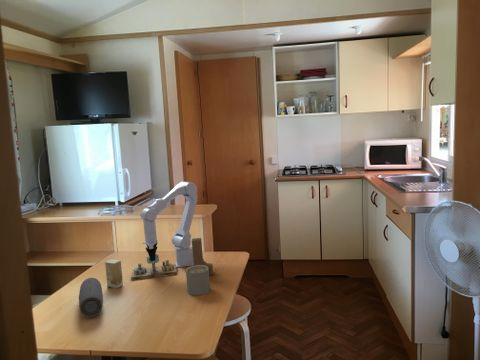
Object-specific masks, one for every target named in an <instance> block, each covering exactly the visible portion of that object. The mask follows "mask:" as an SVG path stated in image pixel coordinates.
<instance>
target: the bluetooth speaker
mask: <svg viewBox="0 0 480 360" xmlns="http://www.w3.org/2000/svg"><path fill="white" fill-rule="evenodd" d="M103 305H104V295H103V288H102V284H101V282H100V281H99V279H97V278H95V277H88V278H86V279H84V280H82V283H81V285H80V287H79V293H78V307H79V311H80V313H81V314H82V316H84V317H87V318H92V317H95V316H98V315H99V314H100V313H101V311H102V309H103Z"/></svg>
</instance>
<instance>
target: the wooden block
mask: <svg viewBox="0 0 480 360" xmlns="http://www.w3.org/2000/svg"><path fill="white" fill-rule="evenodd" d="M202 243H203V242H202V237H195V238H194V237H193V238H192V239H191V247H192V250H193V262H194V265H193V266H195V265H205V266H207V267H208V269H209V276H213V275H214V265H213V263H212V262H211V263H208V262H206V261H205V260H204V256H203V255H204V253H203V244H202Z"/></svg>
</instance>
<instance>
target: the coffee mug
mask: <svg viewBox="0 0 480 360" xmlns="http://www.w3.org/2000/svg"><path fill="white" fill-rule="evenodd" d="M185 277H186V287H187V294H188V295H191V296H202V295H205V294H208V293H209V292H210V291H211V283H210V282H211V281H210V275H209V269H208V267H207V266H205V265H195V266H194V265H191V266H187V268H186V269H185Z"/></svg>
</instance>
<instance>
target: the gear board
mask: <svg viewBox="0 0 480 360" xmlns="http://www.w3.org/2000/svg"><path fill="white" fill-rule="evenodd" d="M174 275H178V271H177V267H176V263H175V264H174V263H173V262H170V261H169V259H165V261H162V265H161V266H158V265H157V266H156V263H154V264H151V267H146V266H142V263H137V267H135V268H133V269H132V271H131V276H130V280H131V281H137V280H143V279H144V280H145V279H152V278H159V277H167V276H174Z"/></svg>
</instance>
